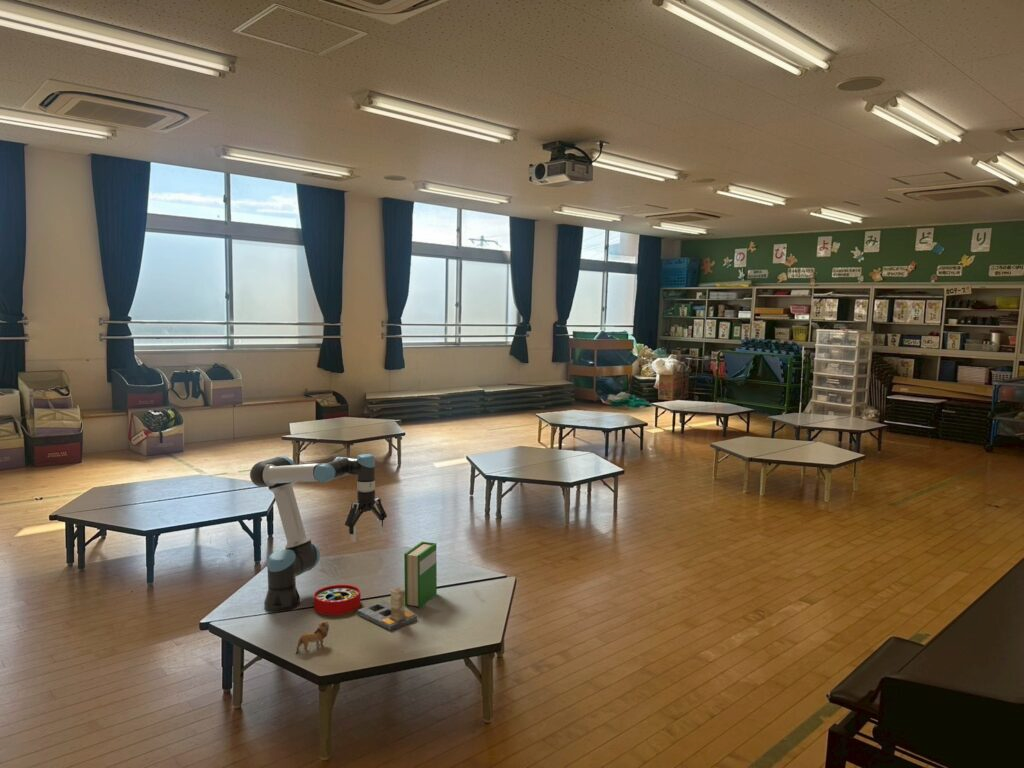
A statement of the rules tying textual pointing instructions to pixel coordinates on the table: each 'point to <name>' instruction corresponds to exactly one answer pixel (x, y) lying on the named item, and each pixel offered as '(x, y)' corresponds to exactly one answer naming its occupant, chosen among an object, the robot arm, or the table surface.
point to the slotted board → (382, 620)
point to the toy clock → (337, 599)
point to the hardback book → (420, 574)
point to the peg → (397, 604)
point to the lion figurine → (314, 636)
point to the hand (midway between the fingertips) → (366, 537)
